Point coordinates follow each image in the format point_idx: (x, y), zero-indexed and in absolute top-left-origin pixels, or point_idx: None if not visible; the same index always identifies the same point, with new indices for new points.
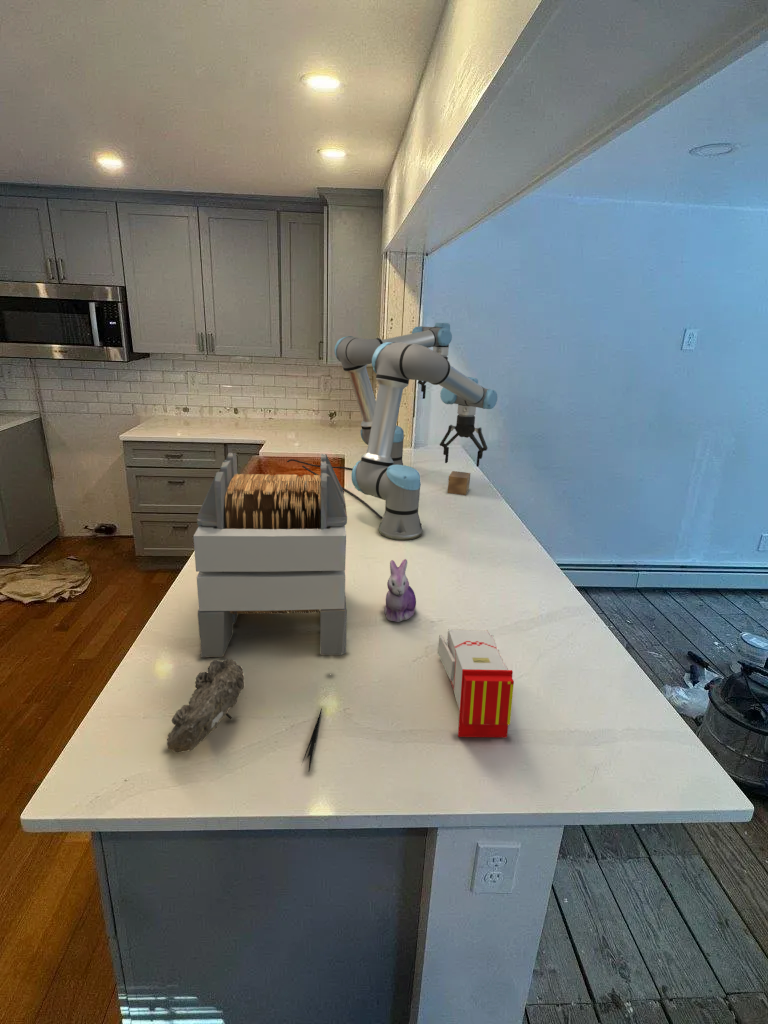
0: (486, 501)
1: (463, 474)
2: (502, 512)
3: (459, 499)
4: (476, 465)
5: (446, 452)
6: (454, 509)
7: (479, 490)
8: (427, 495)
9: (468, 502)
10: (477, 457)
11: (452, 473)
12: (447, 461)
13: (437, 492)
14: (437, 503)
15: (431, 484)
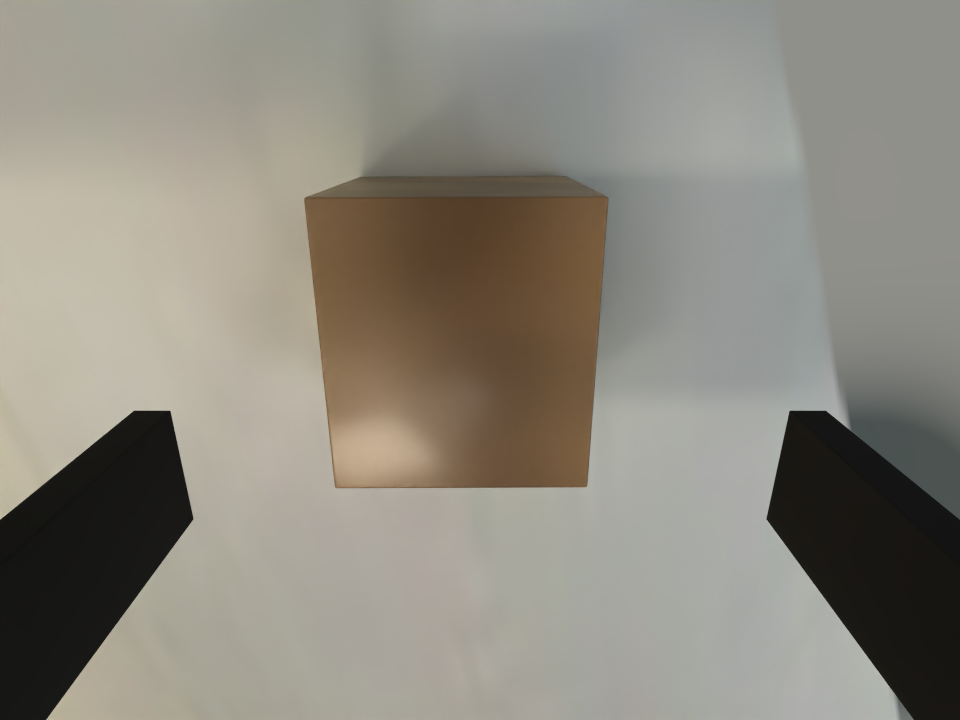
0: (754, 474)
1: (511, 333)
2: (863, 656)
3: (516, 512)
4: (777, 530)
5: (22, 714)
6: (515, 714)
7: (690, 148)
8: (230, 517)
9: (600, 552)
10: (886, 672)
11: (345, 348)
12: (171, 458)
13: (280, 405)
14: (370, 653)
15: (115, 151)
